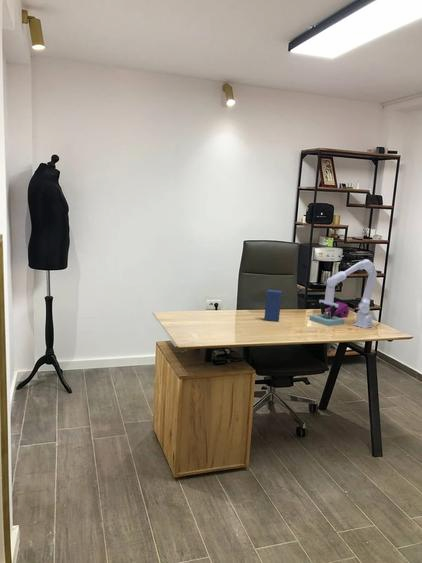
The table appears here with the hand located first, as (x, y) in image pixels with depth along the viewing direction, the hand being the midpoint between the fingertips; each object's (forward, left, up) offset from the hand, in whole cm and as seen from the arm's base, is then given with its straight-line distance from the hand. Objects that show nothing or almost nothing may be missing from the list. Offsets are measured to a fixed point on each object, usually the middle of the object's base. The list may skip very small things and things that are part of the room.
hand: (327, 315), depth 311 cm
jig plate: (0, 0, -4) cm, 4 cm away
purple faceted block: (+8, -18, -5) cm, 21 cm away
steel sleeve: (0, 0, -4) cm, 4 cm away
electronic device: (+18, +34, -5) cm, 39 cm away
